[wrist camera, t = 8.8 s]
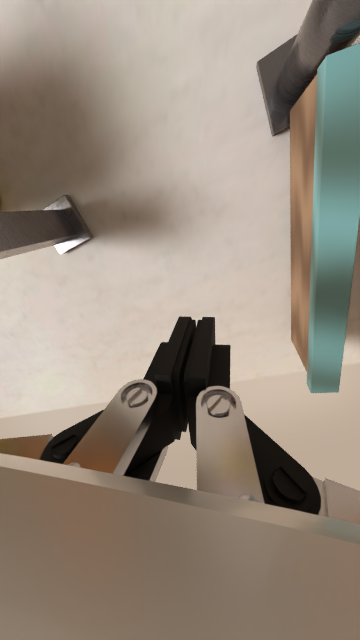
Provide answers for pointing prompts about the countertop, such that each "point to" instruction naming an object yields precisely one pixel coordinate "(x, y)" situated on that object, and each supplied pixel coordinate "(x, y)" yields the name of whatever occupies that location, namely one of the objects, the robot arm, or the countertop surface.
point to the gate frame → (279, 96)
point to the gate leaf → (324, 214)
